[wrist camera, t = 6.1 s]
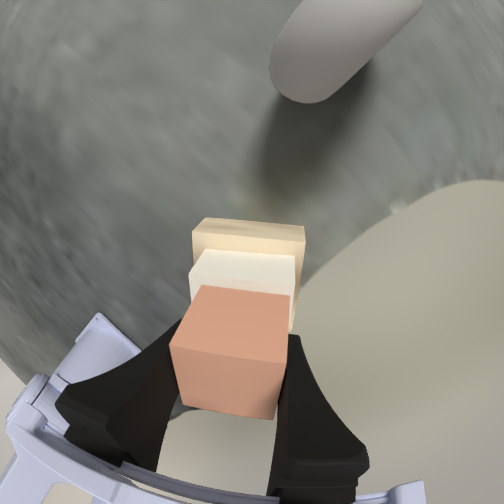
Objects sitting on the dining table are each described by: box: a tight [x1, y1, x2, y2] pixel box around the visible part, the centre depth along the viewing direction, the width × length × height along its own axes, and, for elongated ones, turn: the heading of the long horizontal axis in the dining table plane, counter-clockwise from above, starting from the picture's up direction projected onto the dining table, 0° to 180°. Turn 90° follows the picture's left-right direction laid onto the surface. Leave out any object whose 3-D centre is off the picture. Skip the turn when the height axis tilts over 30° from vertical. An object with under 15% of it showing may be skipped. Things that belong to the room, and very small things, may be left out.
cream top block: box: [189, 249, 295, 333], centre depth 17 cm, size 6×6×3 cm
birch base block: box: [192, 217, 306, 331], centre depth 19 cm, size 7×7×3 cm
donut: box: [269, 0, 423, 103], centre depth 9 cm, size 10×4×10 cm, turn 141°
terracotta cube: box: [169, 285, 290, 420], centre depth 12 cm, size 4×4×4 cm
